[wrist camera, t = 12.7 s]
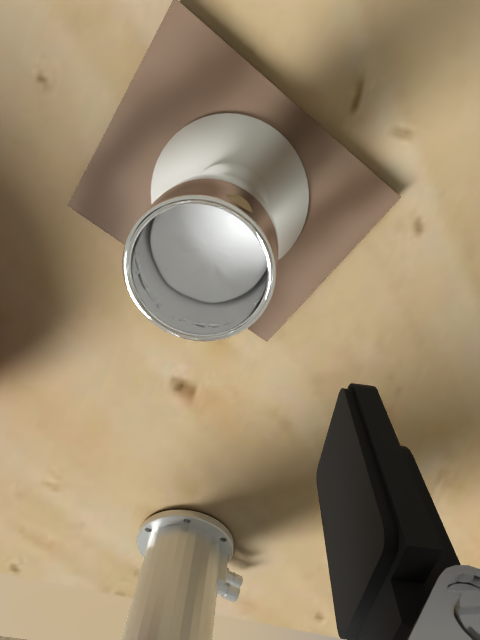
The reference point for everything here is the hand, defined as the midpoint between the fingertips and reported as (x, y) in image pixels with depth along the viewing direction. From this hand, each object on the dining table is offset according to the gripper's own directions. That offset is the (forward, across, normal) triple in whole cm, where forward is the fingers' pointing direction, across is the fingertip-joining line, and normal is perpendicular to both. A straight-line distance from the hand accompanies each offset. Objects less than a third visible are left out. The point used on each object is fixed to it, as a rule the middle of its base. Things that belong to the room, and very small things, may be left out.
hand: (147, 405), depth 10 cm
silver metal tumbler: (+23, 0, 0) cm, 23 cm away
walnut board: (+25, 0, -1) cm, 25 cm away
